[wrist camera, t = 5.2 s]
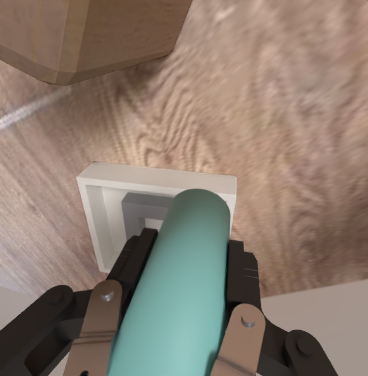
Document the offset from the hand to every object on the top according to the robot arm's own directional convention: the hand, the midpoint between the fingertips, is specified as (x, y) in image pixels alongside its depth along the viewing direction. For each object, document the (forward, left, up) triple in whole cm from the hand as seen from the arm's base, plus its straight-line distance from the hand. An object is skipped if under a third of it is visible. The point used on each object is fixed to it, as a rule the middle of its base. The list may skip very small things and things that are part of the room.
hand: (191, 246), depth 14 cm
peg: (0, 0, -3) cm, 3 cm away
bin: (+7, +15, -19) cm, 25 cm away
